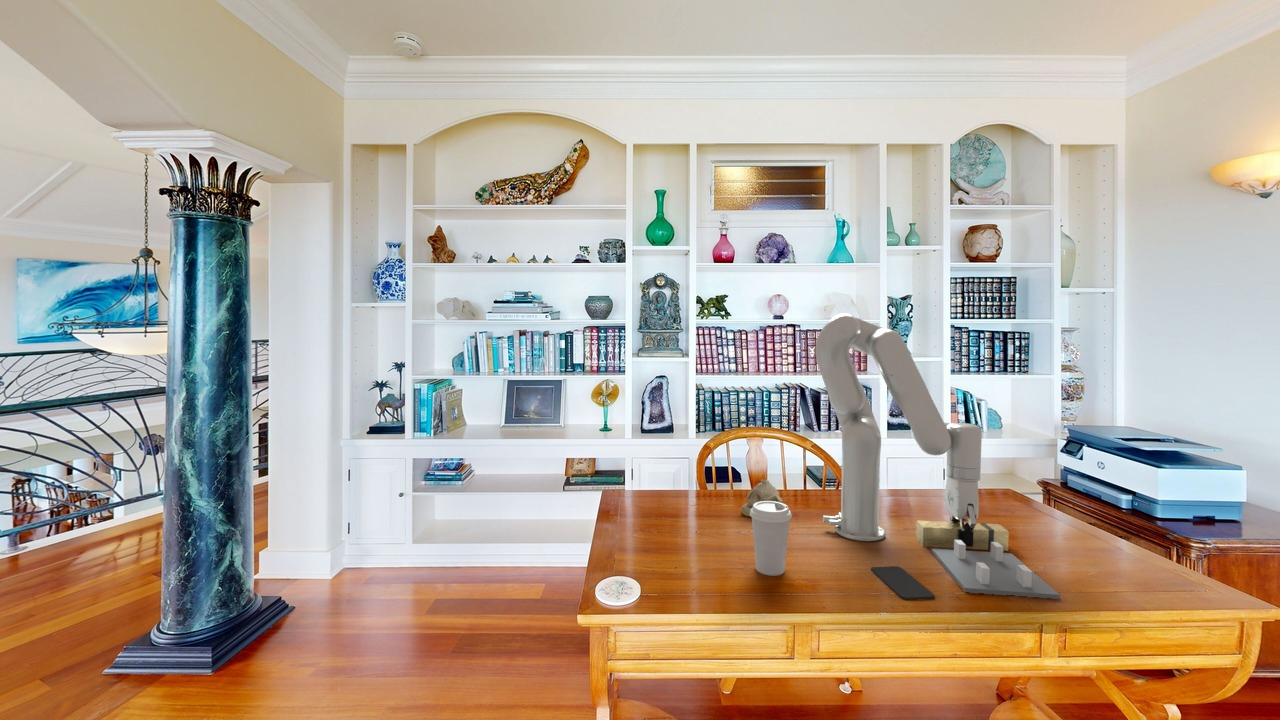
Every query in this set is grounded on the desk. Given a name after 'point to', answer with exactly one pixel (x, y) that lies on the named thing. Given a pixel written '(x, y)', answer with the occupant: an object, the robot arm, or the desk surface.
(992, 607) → the desk surface
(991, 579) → the peg plate
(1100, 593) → the desk surface
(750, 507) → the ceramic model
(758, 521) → the coffee cup
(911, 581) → the phone
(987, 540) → the tan long bar
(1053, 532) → the desk surface
